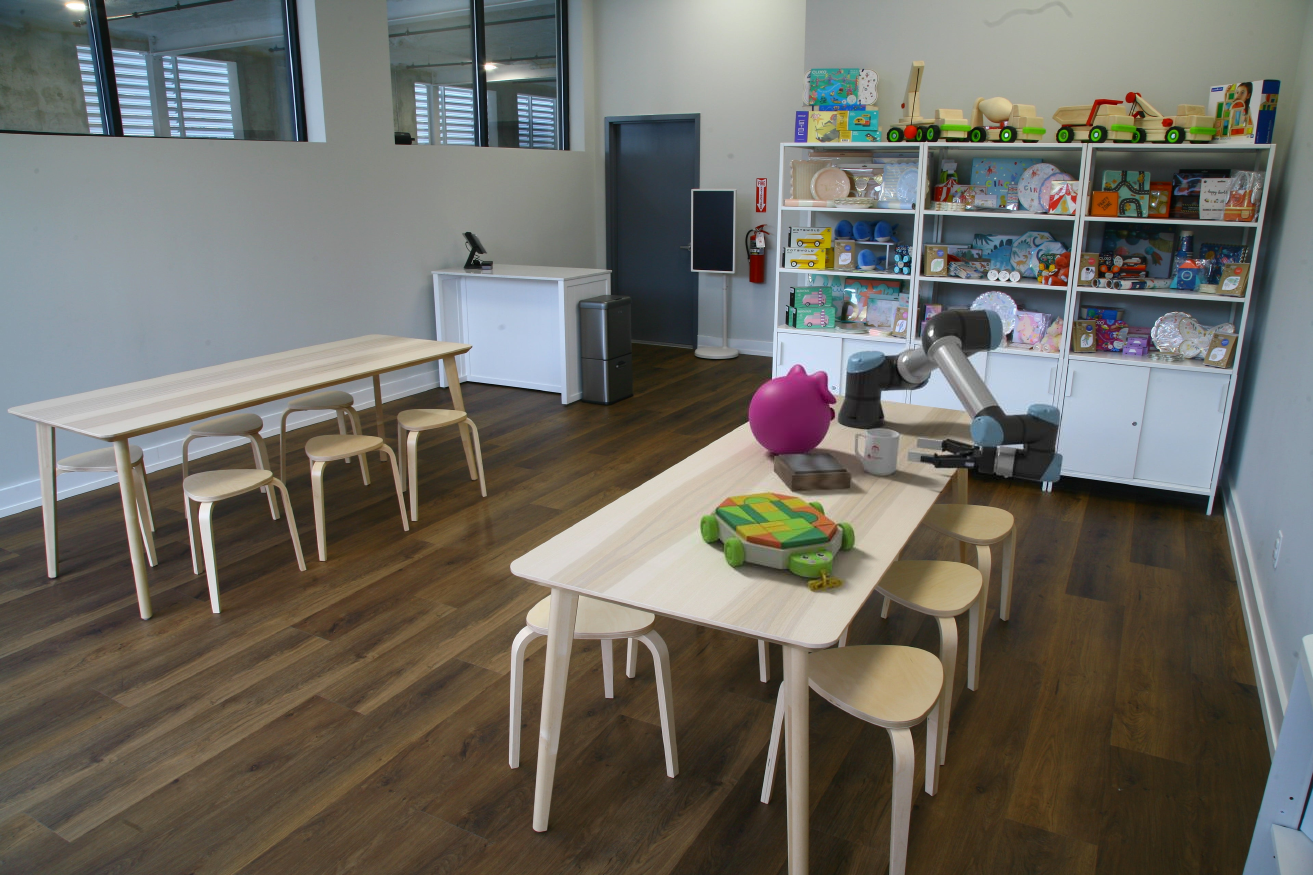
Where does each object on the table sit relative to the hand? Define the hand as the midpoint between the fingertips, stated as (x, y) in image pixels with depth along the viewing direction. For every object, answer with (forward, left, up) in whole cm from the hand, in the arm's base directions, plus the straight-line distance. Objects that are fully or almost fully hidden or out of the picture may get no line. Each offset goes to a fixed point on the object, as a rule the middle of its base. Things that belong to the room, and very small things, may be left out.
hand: (912, 448), depth 230 cm
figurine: (+27, -24, -8) cm, 37 cm away
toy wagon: (+49, +40, -8) cm, 64 cm away
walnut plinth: (+28, -1, -8) cm, 29 cm away
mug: (+8, -6, -8) cm, 13 cm away
